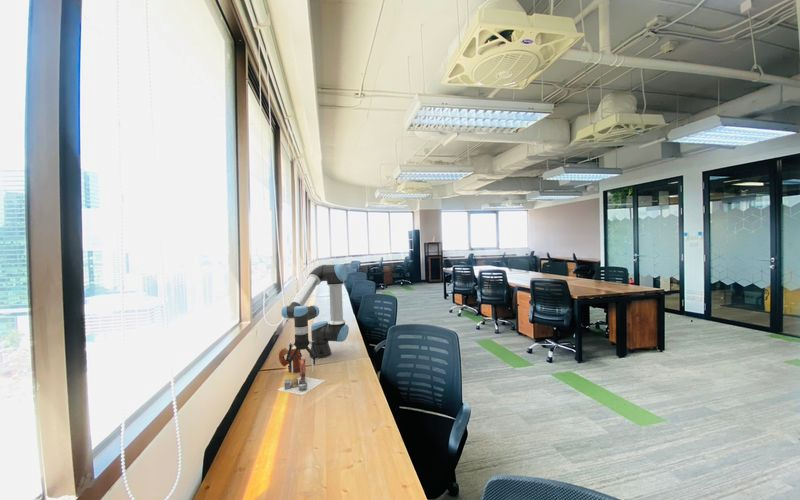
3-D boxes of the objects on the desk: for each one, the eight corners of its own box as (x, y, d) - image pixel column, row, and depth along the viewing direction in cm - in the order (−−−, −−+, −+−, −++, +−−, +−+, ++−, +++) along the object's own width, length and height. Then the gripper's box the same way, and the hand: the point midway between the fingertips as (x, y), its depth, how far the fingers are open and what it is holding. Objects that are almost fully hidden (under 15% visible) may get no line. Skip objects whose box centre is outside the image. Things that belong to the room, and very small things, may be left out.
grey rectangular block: (285, 385, 178) (284, 379, 178) (290, 385, 179) (290, 378, 179) (284, 389, 173) (284, 383, 173) (290, 388, 174) (290, 382, 174)
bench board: (301, 378, 191) (301, 375, 191) (325, 382, 184) (325, 379, 184) (277, 392, 173) (277, 388, 173) (302, 397, 167) (302, 393, 167)
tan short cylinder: (294, 384, 180) (294, 378, 180) (299, 385, 178) (299, 379, 178) (289, 387, 176) (289, 380, 176) (295, 388, 175) (294, 381, 175)
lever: (307, 389, 171) (306, 369, 171) (298, 390, 170) (297, 370, 170) (307, 376, 188) (306, 358, 188) (299, 377, 187) (298, 359, 187)
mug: (305, 370, 203) (304, 346, 203) (300, 375, 195) (299, 350, 195) (283, 369, 205) (282, 346, 205) (276, 374, 197) (276, 350, 197)
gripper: (279, 337, 179) (281, 376, 179) (322, 332, 185) (323, 371, 186) (280, 333, 186) (281, 371, 186) (321, 329, 193) (322, 366, 193)
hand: (302, 371), depth 186 cm, fingers open, 10 cm apart
